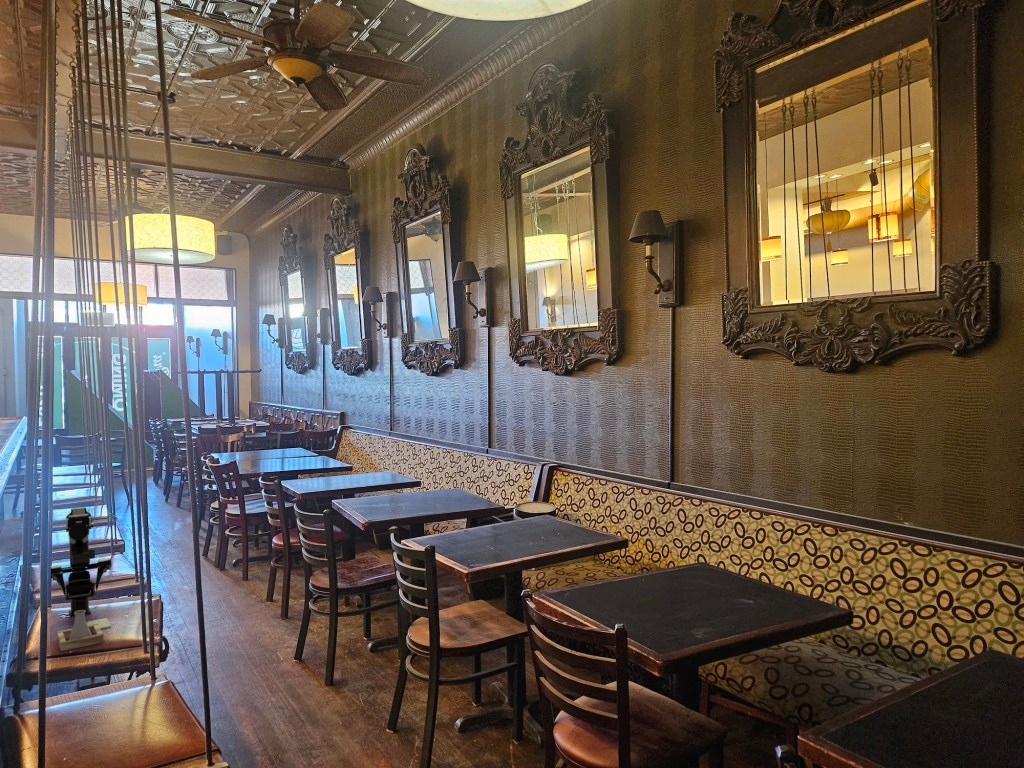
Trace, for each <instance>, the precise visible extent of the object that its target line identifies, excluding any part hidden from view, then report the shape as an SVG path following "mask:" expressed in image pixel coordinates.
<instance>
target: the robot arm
mask: <svg viewBox="0 0 1024 768" xmlns="http://www.w3.org/2000/svg"><path fill="white" fill-rule="evenodd" d="M92 528H94V519H93V518H92V513H90V512H89V511H88V510H87V507H85V506H81V507H80V506H79V507H72V508H70V513H69V514H67V515H66V516H65V532H66V533H68V542H69V566H67V567H62V564H60V565H52V566H50V567H51V579H52V581H56V583H58V585H59V587H60V589H61V591H62V593H63V595H64V596H65V599H66V600H65V601H70V610H68V615H69V617H70V618H75V614H74V612H75V611H78V610H86V612H85V615H90V614H92V611H91V609H90V601H89V600H90V599H89V598H91V597H94V596H95V595H96V591H98V589H99V586H100V582H101V580H102V576H103V575H104V574H106V573H107V572H108V571H109V570H112V559H111V558H110V557H108V558H103V559H97V562H94V563H91V560H93V559H95V558H96V555H95V554H96V551H95V548H92V549H90V548H89V547H90V546H89V544H90V543H89V535H90V530H92ZM95 569H97V572H96V580H95V583H94V581H93V580H92V579H91V574H90V571H89V570H95ZM64 574H68V578H67V581H68V582H67V583H66V584H65V580H64V579H65V578H64Z"/></svg>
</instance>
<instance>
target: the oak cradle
mask: <svg viewBox="0 0 1024 768" xmlns="http://www.w3.org/2000/svg"><path fill="white" fill-rule="evenodd" d="M88 627H89V629H90V631H91V633H92V636H87V637H83V638H78V639H73V640H68V639H69V636H70V634H71V631H72V628H69V629H65V630H64V629H63V630H59V631H56V640H57V644H58V647H59V650H60V652H63V651H64V652H65V651H68V650H74V649H78V648H83V647H87V646H92V645H96V644H101V643H104V641H105V639H104V633H103V631H102V629H100V626H99V624H93V625H88Z"/></svg>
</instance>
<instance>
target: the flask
mask: <svg viewBox="0 0 1024 768" xmlns="http://www.w3.org/2000/svg"><path fill="white" fill-rule="evenodd" d="M85 612H86V610H78V611H75V612H74V614H75V617H74V622H73V626H72V628H71V629H72V631H71V634H70V636H69V638H67V641H68V640H73V639H78V638H83V637H87V636H92V635H93V633H91V631H90V629H89V627H88V625H87V623H86V622H87V621H86V616H85Z"/></svg>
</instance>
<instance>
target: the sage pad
mask: <svg viewBox="0 0 1024 768" xmlns="http://www.w3.org/2000/svg"><path fill="white" fill-rule="evenodd" d="M86 623H87V625H93V624H99V626H100V629H101V630H105V629H109V628H112V624H111V622H110V621H109V619H108V617H105V618H104V617H103V618H100V619H93V620H89V621H86Z"/></svg>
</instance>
